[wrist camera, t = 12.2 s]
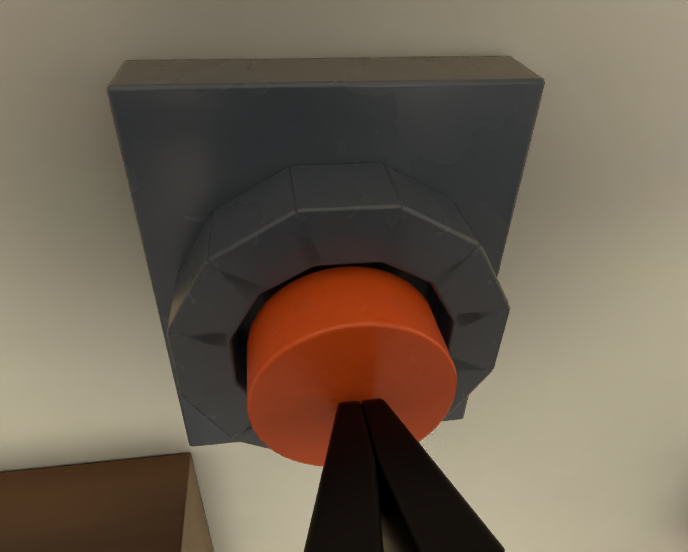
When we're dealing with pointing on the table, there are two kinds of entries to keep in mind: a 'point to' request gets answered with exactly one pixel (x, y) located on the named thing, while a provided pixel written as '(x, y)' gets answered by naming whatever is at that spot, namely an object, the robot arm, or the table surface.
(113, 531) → the dial console
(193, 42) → the table surface
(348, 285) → the button
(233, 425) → the button box
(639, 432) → the table surface
